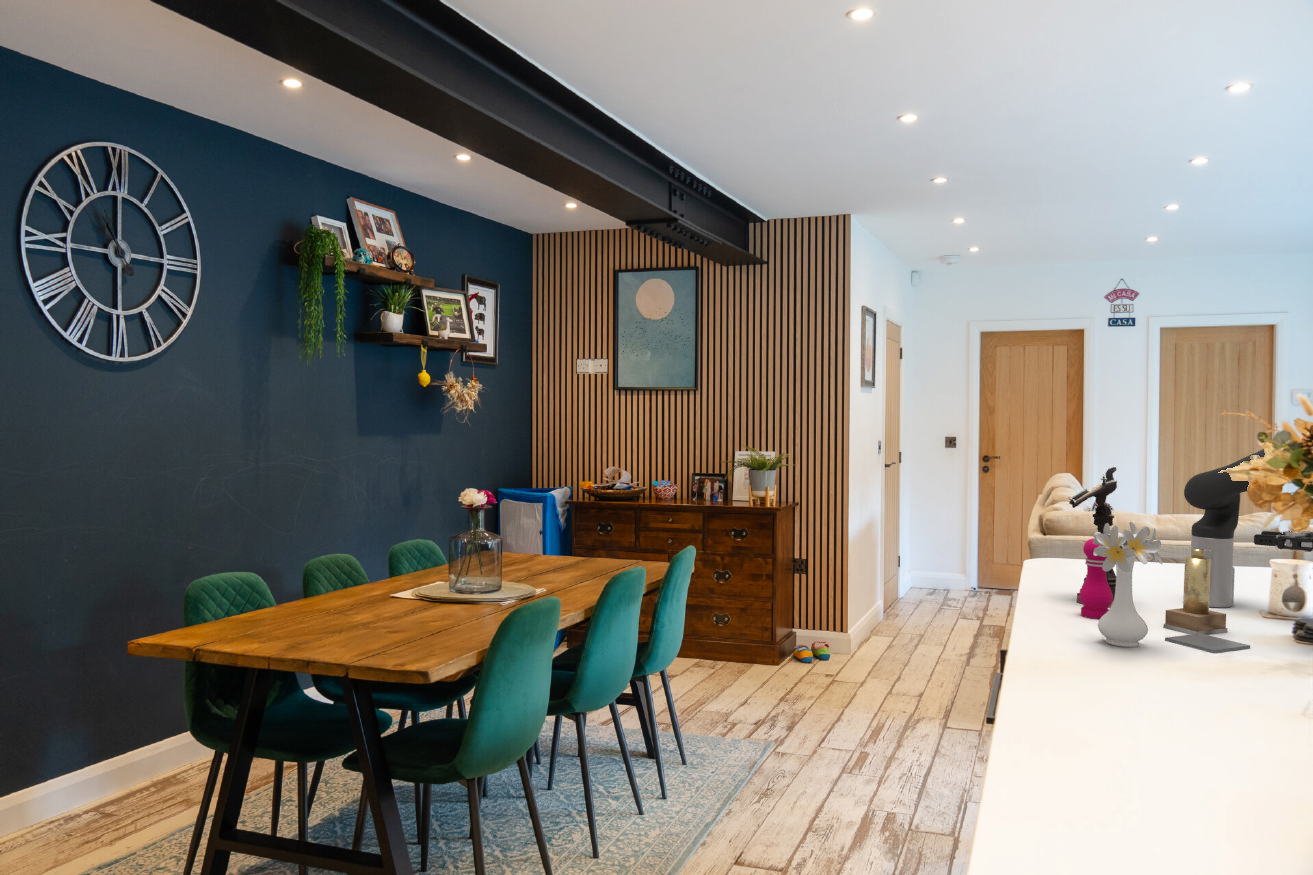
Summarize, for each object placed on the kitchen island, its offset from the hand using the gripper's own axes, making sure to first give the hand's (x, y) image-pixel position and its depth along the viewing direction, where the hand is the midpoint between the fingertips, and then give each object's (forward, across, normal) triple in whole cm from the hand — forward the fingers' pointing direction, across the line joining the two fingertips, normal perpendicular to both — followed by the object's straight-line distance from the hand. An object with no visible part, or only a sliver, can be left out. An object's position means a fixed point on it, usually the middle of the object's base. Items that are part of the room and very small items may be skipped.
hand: (1257, 537), depth 201 cm
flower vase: (+19, +26, +22) cm, 39 cm away
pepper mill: (+32, +1, +22) cm, 39 cm away
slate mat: (+7, +13, +22) cm, 26 cm away
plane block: (+12, 0, +22) cm, 24 cm away
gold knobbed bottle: (+12, 0, +18) cm, 21 cm away
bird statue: (+38, -15, +21) cm, 46 cm away
